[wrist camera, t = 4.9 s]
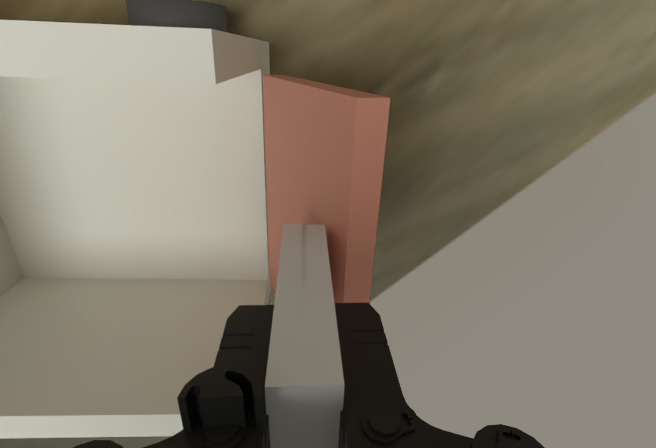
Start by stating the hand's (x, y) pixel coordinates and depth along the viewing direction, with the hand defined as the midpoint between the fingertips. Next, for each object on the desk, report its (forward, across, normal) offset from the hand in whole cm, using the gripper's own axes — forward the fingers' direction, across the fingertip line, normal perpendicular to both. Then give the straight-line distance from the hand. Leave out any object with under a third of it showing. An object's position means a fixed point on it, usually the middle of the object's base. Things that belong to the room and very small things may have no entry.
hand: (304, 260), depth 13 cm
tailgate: (+8, +2, 0) cm, 8 cm away
